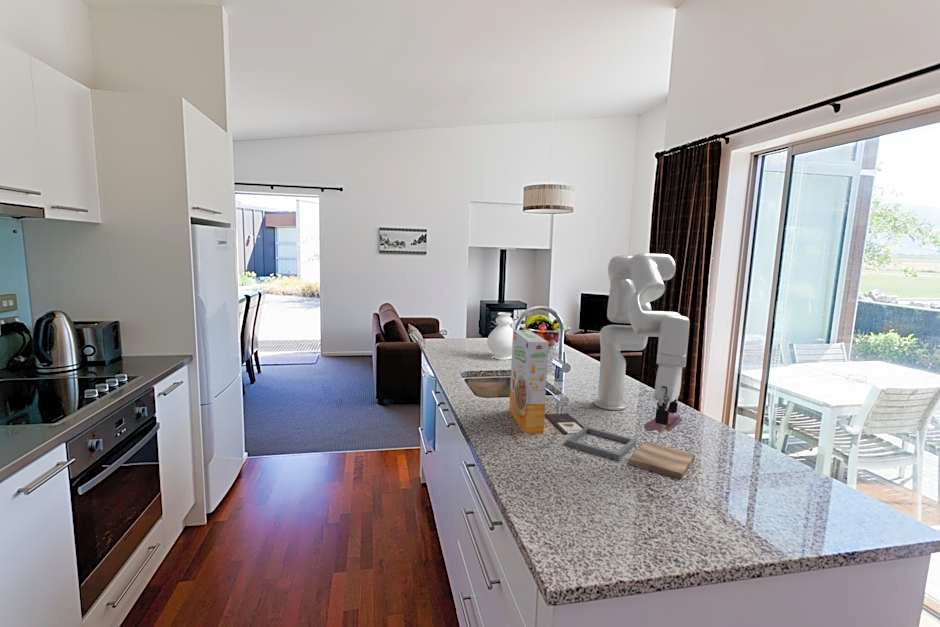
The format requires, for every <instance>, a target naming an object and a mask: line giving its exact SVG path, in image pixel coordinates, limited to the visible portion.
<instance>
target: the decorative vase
mask: <svg viewBox="0 0 940 627" xmlns="http://www.w3.org/2000/svg"><path fill="white" fill-rule="evenodd" d="M497 315H498V316H497V317H496V318H495V322H496V324H497V326H496V327H495V328H493V329H492V331H490V333H489V334H488V337H487V340H486V344H487V346H488V349H490V351H491V352H492V355H491V357H493V358H496V359H511V358H512V342H513V330H514V328H513V327H512V326H510V325H512V324H513V323H514V320H513V318H512V317H511V316H512V313H511V312H506V311H505V312H501V311H499V312H497ZM491 357H490V358H491Z"/></svg>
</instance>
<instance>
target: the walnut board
mask: <svg viewBox="0 0 940 627" xmlns="http://www.w3.org/2000/svg"><path fill="white" fill-rule="evenodd" d="M695 458H696V454H694V453H692V452H687V451H683V450H680V449H676V448H672V447H668V446H664V445H662V444H661V445H660V444H656V443H653V442H650V441H645V442H644V443H643V444H642V445H641V446H640V447H639V448H638V449H636V451H635V452H634V453H633V454H632V455H631V456H630V457H629V458H628V464H629V465H632V466H636V467H639V468H643V469H646V470H650V471H652V472H656V473H660V474H663V475H666V476H670V477H673V478H677V479H680V480H682V479H683V477H684V476H685V474H687V472H688V470H689V469H688V468H690V467H691V465H692V464H693V463H694V461H695V460H696V459H695Z"/></svg>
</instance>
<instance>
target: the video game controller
mask: <svg viewBox="0 0 940 627" xmlns="http://www.w3.org/2000/svg"><path fill="white" fill-rule="evenodd" d="M682 422H683V418H682V417H681V416H680V415H679V414H678V413H677V414H676V413H674V414H673V413H669V417H668V424H667V425H663V424H659V423H656V422H655V418H653V419H652V420H649V421H648V422H645V424H644V430H645V431H647V432H653V431H657V432H658V433H659V434H661V433H663V432H665V430H666V431H667V432H670V431H672V430H673V429H674V428H676V427H678V426H679V425H680V424H681V423H682Z"/></svg>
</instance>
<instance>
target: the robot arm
mask: <svg viewBox="0 0 940 627" xmlns="http://www.w3.org/2000/svg"><path fill="white" fill-rule="evenodd" d="M676 266H677V264H676V262H675V259H674V258H673V257H672V256H671V255H670V254H665V253H636V254H635V255H616V256H613V257H612V258H611V259H610V260H609V263H608V266H607V274H608V278H609V284H610V288H609V295H608V301H607V309H606V312H607V313H606V317H607V320H609V321H610V322H611V323H616V324H608V325H606V326H603V327H602V328H600V331H599V344H600V360H599V361H600V363H599V374H598V375H599V377H598V392H597V394H598V395H597V397H596V398H594V399H593V400H592V401H593V402H592V403H593V405H594V407H598V408H601V409H602V410H603V409H604V410H611V411H622V410H625V409H627V408H628V403H627V402H625V401H624V396H625V384H626V382H625V379H626V370H627V369H626V368H627V361H626V359H625V357H624V355H623V354H622V353H621V351H633V352H635V351H637V352H638V351H642V350H644V349H645V348H646V346H647V344H648V340H649V338H650V337H653V338H654V337H656V338H658V341H657V342H658V344H657V354H656V364H657V365H658V368H657V371H656V378H655V382H654V383H655V385H654V391H653V393H654V394H653V399H654V400H655V401H657V403H656V407H655V408H656V410H655V418H654V419H655V422H656V423H659V424H663V425H667V424H668V417H669V413H673V414H674V413H676V414H677V415H678V405H679V404H678V401H679V396H680V393H681V387H682V372H683V368H686V366H687V358H688V346H689V336H690V325H691V323H690V322H691V321H690V319H689V317H688V316H684V315H681V313H679V312H676V311H668V310H667V311H663V310H652V305H651V303H650V302H653V301H656V300H658V299H660V298H661V297H662V295H664V293H665V290H666V285H665V283H664V281H669V280H671V279H672V278H674V276H675V274H676V270H677V269H676V268H677V267H676ZM617 323H618V324H617ZM623 324H624V325H623ZM625 324H630V325H625Z"/></svg>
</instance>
